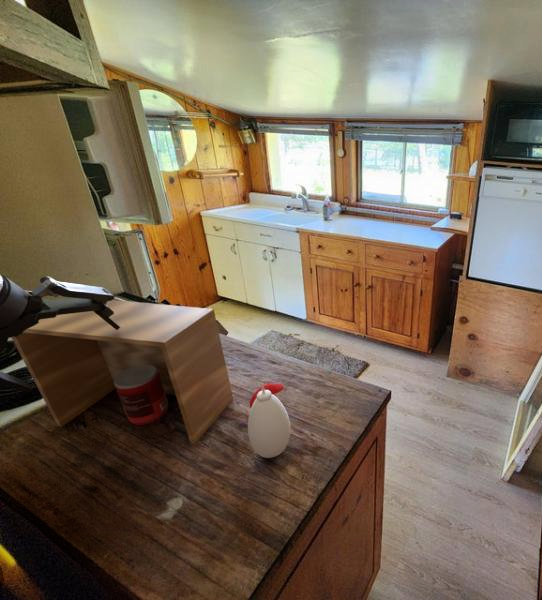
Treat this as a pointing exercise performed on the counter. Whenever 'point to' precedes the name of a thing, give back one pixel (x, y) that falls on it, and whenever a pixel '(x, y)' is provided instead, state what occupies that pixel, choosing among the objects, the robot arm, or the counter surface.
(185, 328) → the cupboard
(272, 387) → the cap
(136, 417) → the canned food
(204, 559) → the counter surface
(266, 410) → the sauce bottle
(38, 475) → the counter surface
